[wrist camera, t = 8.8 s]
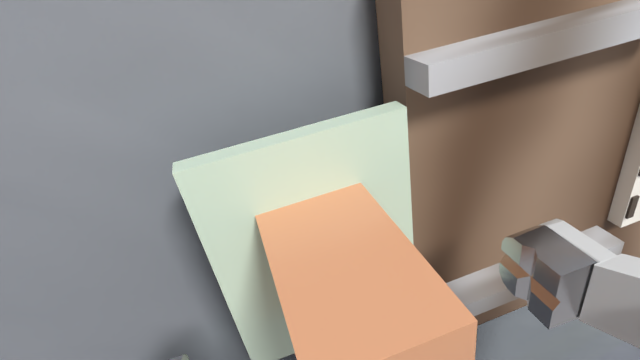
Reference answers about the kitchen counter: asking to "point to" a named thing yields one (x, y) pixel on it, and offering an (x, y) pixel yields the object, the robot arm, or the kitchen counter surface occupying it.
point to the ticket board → (514, 128)
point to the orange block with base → (324, 244)
